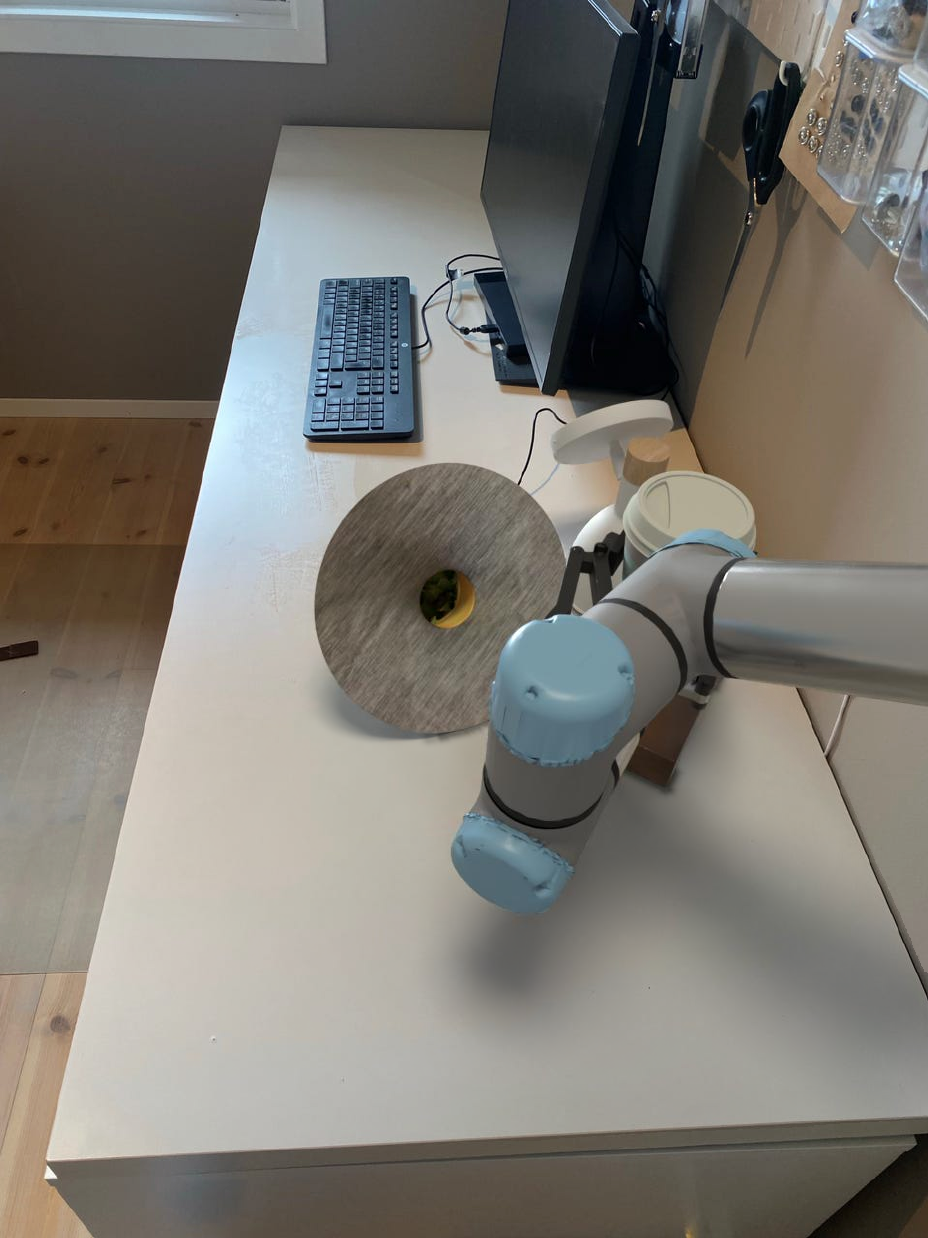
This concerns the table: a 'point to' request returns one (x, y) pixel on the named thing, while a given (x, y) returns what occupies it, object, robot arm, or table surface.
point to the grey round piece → (433, 592)
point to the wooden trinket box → (664, 741)
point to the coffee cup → (682, 513)
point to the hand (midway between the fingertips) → (692, 541)
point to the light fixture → (614, 465)
